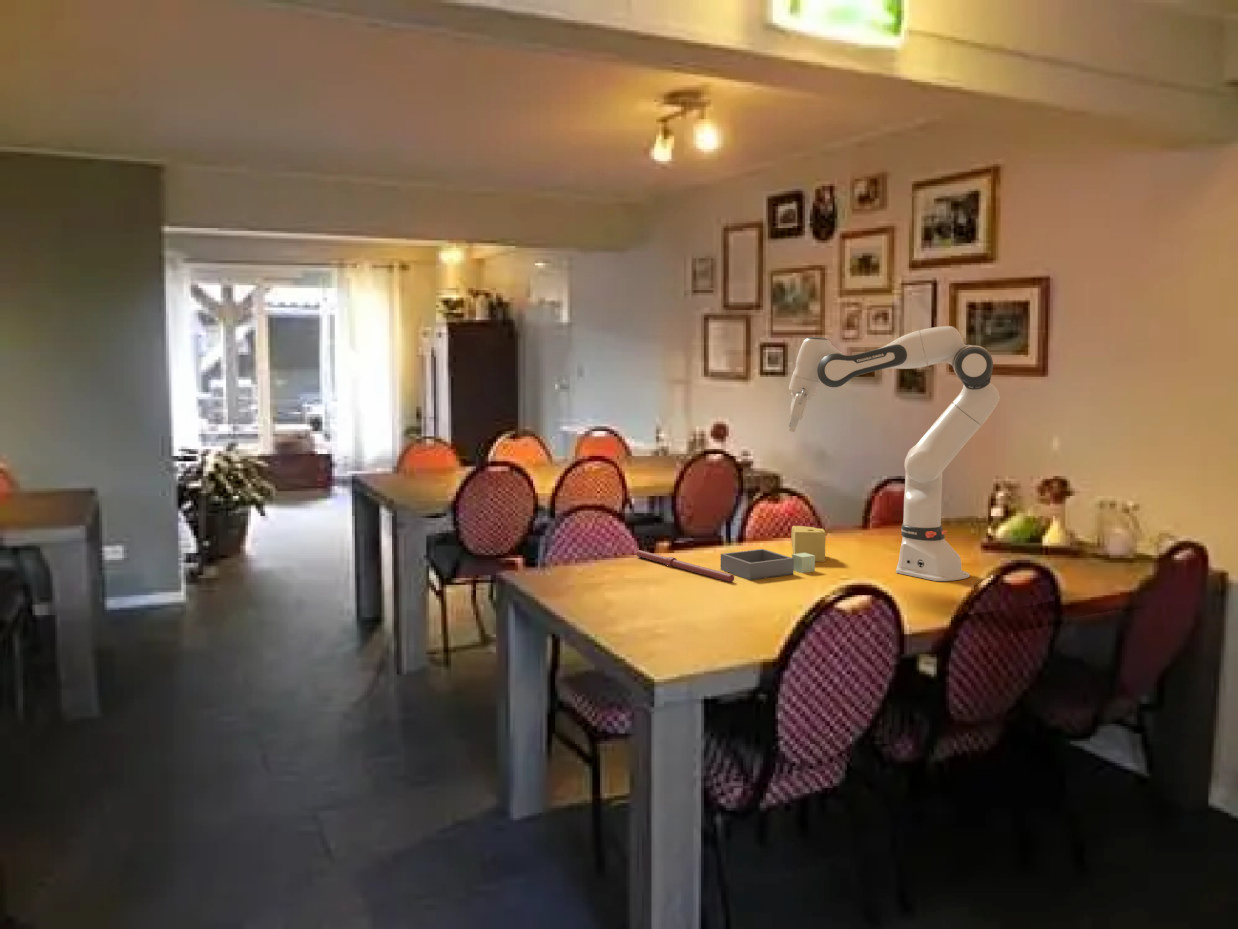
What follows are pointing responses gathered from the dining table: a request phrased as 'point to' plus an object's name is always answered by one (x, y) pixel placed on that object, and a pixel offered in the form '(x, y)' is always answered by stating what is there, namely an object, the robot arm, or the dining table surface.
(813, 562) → the green cube
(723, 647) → the dining table surface
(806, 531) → the cheese
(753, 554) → the bin
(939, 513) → the robot arm
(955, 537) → the dining table surface
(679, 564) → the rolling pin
